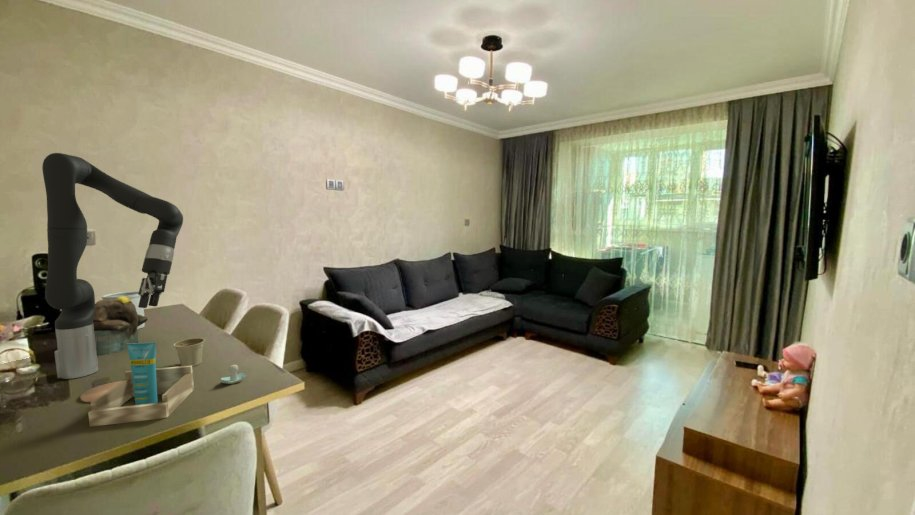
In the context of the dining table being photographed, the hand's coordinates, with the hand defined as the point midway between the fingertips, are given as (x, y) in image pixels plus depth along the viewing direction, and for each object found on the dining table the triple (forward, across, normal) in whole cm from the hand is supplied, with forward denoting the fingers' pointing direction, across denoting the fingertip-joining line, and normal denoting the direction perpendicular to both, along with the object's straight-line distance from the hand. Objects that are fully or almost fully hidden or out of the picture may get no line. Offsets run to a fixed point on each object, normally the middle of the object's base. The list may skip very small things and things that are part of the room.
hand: (147, 306), depth 123 cm
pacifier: (+24, +18, +22) cm, 38 cm away
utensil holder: (+2, -84, +20) cm, 86 cm away
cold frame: (+30, +14, +1) cm, 33 cm away
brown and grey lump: (+12, -56, +8) cm, 58 cm away
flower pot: (+18, -9, +20) cm, 29 cm away
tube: (+30, +14, +1) cm, 33 cm away
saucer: (+27, -6, -2) cm, 28 cm away
